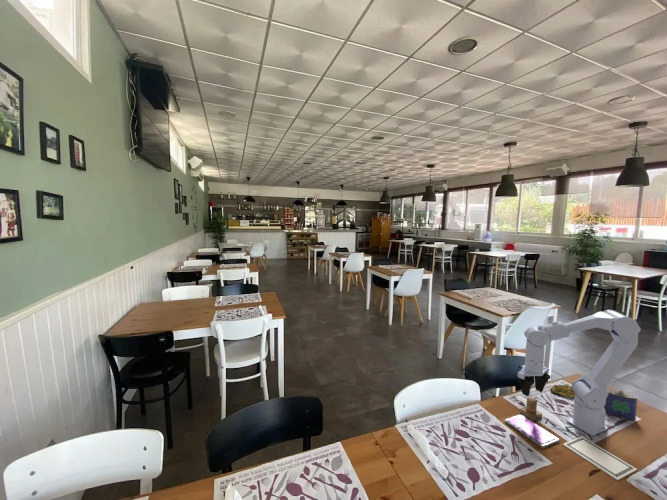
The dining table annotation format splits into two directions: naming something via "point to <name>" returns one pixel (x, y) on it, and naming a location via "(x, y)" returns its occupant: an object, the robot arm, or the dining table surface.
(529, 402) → the stamp
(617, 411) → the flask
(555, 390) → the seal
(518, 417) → the ink pad
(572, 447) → the marked card
